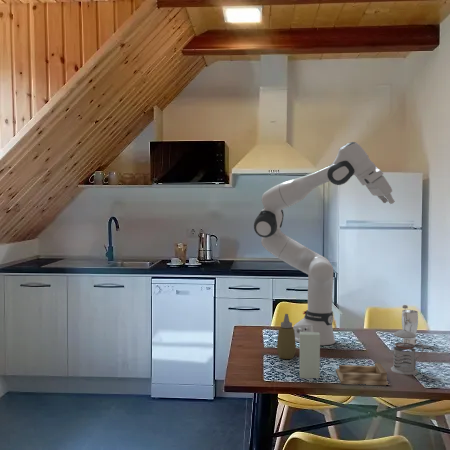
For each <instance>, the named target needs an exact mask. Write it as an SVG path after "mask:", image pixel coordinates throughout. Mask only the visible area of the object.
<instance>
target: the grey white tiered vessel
mask: <svg viewBox="0 0 450 450" xmlns="http://www.w3.org/2000/svg"><path fill="white" fill-rule="evenodd" d="M408 308H409V307H408V305H407V304H403V305H402V309H408ZM393 336H394V337H396V338H400V339H403V338H404V343H402V342H403V341H399V342H395V343H394V347H393V366H392V367H390V370H391V372H393V373H396V374H399V375H400V374H401V375H409V376H410V375H416V374H418V373H419V371H418V369H417V368H416V366H417V365H416V364H417V361H416V360H419V359H420V358H422V356H423V354H424V350H425V349H424V345H423V343H422V342H421V340H419V339H418V338H417V334H416V335H415V334H414V333H412V332H410V331H407V330H405V327H404V330H403V329H398V330H397V331H395V332H393ZM415 337H416V340H415V343H419V344H420V346H421V349H422V350H421V355H419V356H417V357H416V349H415V346H416V345H415V346H414V345H413V344H409V343H405V338H415Z"/></svg>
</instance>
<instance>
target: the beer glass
mask: <svg viewBox="0 0 450 450" xmlns="http://www.w3.org/2000/svg"><path fill="white" fill-rule="evenodd" d="M418 314H419V313H418V311H417V310H414V309H402V312H401V328H402V330H404V327H405V330H407V331H410V332H412V333H414V334H415V335H416V337H415V338H405V343H409V344H413V345H414V346H417V345H418V344H417V343H418V342H416V343H415V340H416V339H417V332H418V331H417V330H418V325H419V315H418ZM401 342H402V343H404V338H402V341H401Z"/></svg>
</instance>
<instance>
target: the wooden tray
mask: <svg viewBox="0 0 450 450" xmlns="http://www.w3.org/2000/svg"><path fill="white" fill-rule="evenodd" d="M338 366H339V367H338V368H335V373H336V375H337V378H338V380H339V382H341V383H340V384H341V385H358V384H366V386H386V385H388V386H389V383H388V372H387V371H386V369H385V368H384V366H383V365H382V364H381V363H374V365H356V364H355V365H352V364H350V365H349V364H339V365H338Z"/></svg>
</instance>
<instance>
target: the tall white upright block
mask: <svg viewBox="0 0 450 450" xmlns="http://www.w3.org/2000/svg"><path fill="white" fill-rule="evenodd" d="M320 367H321V345H320V334H319V332H300V342H299V373H298V375H299V378H300V379H313V378H321V377H320V373H321V372H320V370H321V369H320Z"/></svg>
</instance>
